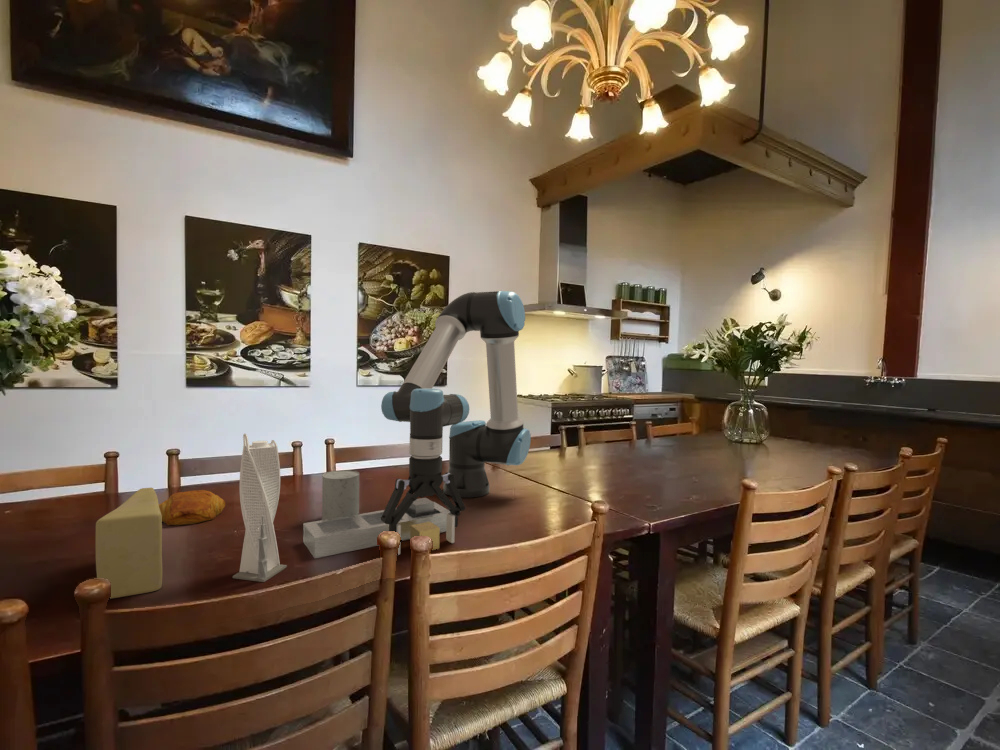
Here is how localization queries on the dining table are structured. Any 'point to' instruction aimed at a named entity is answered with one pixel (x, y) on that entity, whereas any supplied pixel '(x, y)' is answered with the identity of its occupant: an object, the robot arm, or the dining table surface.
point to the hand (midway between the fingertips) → (424, 546)
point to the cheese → (131, 545)
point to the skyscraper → (259, 510)
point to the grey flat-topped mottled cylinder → (340, 494)
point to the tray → (367, 528)
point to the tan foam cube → (426, 532)
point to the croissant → (191, 507)
